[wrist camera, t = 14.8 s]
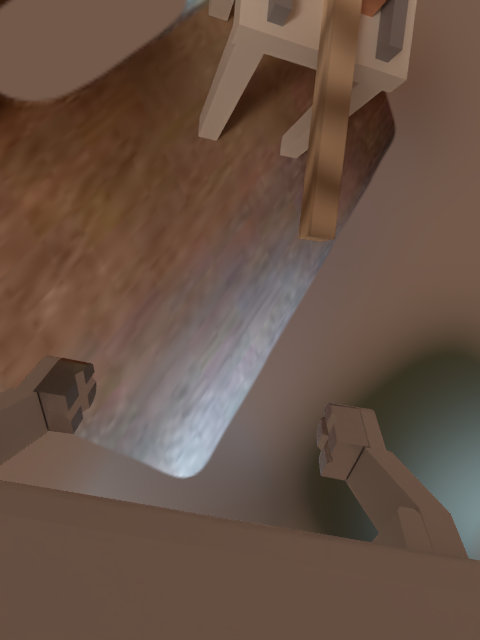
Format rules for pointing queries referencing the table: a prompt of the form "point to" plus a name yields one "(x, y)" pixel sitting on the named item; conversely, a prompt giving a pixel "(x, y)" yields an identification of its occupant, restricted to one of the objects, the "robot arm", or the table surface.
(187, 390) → the table surface
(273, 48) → the stand
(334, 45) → the mallet
